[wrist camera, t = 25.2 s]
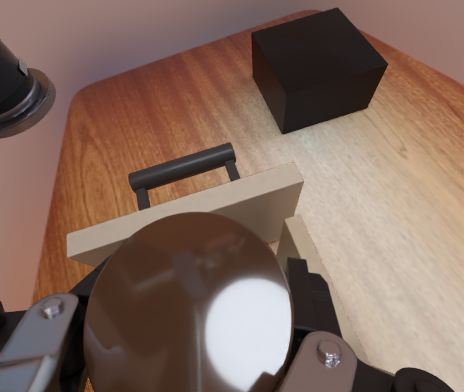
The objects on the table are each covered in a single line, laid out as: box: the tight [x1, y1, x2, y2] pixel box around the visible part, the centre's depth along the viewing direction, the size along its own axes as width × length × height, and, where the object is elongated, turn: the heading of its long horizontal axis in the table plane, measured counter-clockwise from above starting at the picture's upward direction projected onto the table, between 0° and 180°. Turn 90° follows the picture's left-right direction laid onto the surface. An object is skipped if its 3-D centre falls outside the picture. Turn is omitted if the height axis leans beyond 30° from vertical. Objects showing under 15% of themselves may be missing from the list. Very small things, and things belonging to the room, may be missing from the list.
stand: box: [251, 8, 388, 134], centre depth 26 cm, size 9×9×5 cm
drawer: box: [67, 143, 371, 392], centre depth 15 cm, size 19×12×9 cm, turn 17°
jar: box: [83, 212, 295, 392], centre depth 11 cm, size 6×6×9 cm
